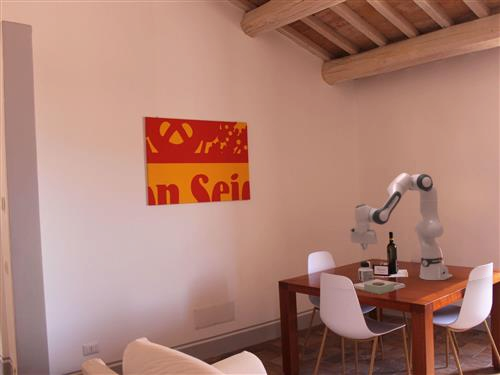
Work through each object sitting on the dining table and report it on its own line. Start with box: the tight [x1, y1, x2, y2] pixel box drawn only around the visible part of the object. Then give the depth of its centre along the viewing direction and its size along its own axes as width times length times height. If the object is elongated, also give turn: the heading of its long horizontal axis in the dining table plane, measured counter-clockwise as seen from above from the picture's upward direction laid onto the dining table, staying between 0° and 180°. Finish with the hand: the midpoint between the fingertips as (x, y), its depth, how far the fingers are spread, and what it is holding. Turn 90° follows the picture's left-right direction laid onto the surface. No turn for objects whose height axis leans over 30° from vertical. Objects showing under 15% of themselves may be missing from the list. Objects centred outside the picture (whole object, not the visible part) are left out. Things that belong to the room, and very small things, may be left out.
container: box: [357, 260, 375, 282], centre depth 318 cm, size 8×8×13 cm
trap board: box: [353, 278, 406, 295], centre depth 294 cm, size 24×24×4 cm
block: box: [373, 282, 384, 286], centre depth 285 cm, size 5×5×3 cm
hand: (364, 250), depth 301 cm, fingers closed
